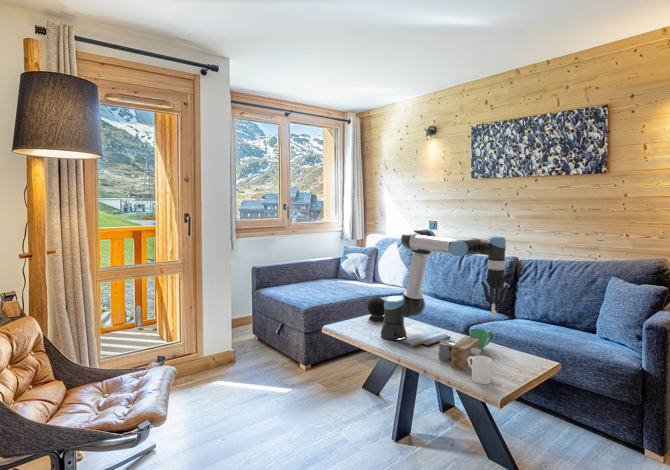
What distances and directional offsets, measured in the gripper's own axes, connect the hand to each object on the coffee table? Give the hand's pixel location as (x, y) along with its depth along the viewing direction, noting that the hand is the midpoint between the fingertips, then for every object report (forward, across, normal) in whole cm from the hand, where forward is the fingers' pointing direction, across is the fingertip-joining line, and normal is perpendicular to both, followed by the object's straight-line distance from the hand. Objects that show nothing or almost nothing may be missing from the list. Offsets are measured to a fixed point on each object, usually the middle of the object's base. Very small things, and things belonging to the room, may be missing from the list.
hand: (493, 316), depth 190 cm
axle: (+19, -14, -5) cm, 25 cm away
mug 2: (+25, 0, -19) cm, 31 cm away
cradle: (+24, -21, -6) cm, 32 cm away
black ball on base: (+25, -84, +28) cm, 92 cm away
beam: (+24, -11, -6) cm, 27 cm away
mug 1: (+25, -11, +18) cm, 33 cm away
